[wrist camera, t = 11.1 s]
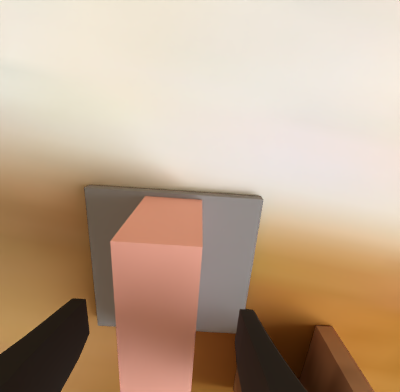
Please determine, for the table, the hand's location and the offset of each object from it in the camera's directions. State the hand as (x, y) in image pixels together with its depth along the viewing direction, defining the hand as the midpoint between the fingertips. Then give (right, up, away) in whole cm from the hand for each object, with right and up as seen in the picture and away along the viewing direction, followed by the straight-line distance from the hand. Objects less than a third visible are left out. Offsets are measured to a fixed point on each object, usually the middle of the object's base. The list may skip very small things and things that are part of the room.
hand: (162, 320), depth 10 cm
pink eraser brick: (0, +1, +4) cm, 4 cm away
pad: (0, +1, +4) cm, 4 cm away
